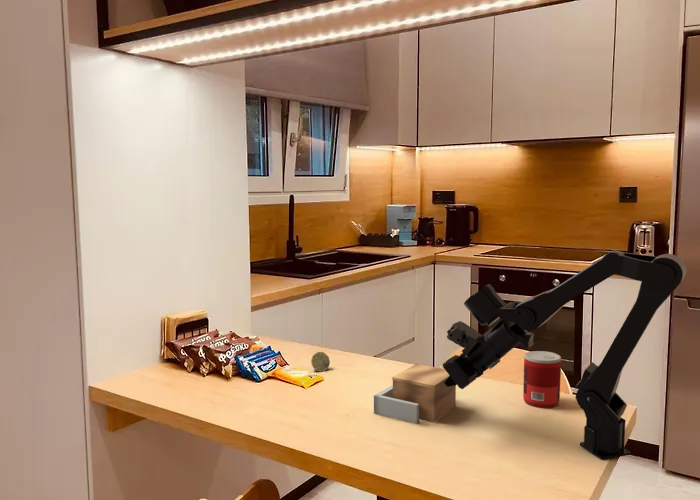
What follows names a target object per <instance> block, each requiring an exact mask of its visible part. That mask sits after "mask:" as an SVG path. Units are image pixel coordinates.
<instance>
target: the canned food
mask: <svg viewBox="0 0 700 500" xmlns="http://www.w3.org/2000/svg"><path fill="white" fill-rule="evenodd" d="M523 360H524V361H523V391H522V392H523V393H522V397H523V401H524V403H525V404H527V405H528V406H532V407H535V408H541V409H550V408H556V407H557V406H558V405H559V403H560V398H561V397H560V396H561V395H560V394H561V393H560V392H561V374H562V357H561V355H559V354H557V353H556V352H552V351H543V350H542V351H541V350H536V351H535V350H534V351H528V352H525V353H524V358H523Z"/></svg>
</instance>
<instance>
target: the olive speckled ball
mask: <svg viewBox="0 0 700 500" xmlns="http://www.w3.org/2000/svg"><path fill="white" fill-rule="evenodd" d="M330 362H331V361H330V357H329V356H328V354H327V353H326V352H323V351H317V352H315V353H314V354H313V355H312V356H311V360H310V363H311V366H312V368H313V369H314V370H315V371H316V372H324V371H326V370H327V369H328V368H329V367H330V364H331V363H330Z"/></svg>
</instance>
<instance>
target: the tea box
mask: <svg viewBox="0 0 700 500" xmlns="http://www.w3.org/2000/svg"><path fill="white" fill-rule="evenodd" d="M449 376H450V375H449V374H448V373H447V372H446V370H445V369H444V368H441V367H435V366H429V365H423V364H419V363H416V364H413V365H411V366H409V367H408V368H406V369H404V370H402V371H401V372H399V373H397V374H395V375H394V376H392V377H391V380H392V385H393V398H395V399H399V400H404V401H408V402H412V403H417V404H419V420H421V421H424V422H428V423H433V424H434V422H435V423H436V422H437V421H439V420H440V419H441V418H443V417H444V416H445V415H447V414H448V413H449V412H450V411H452V410H453V409H455V407H456V405H457V404H456V402H457V400H456V398H457V394H456V393H457V392H456V391H457V385H454V386H450V387H447V386H446V384H445V381H446V380H447V379H448V377H449Z"/></svg>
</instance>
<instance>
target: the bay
mask: <svg viewBox="0 0 700 500" xmlns="http://www.w3.org/2000/svg"><path fill="white" fill-rule="evenodd" d="M373 414H375V415H380V416H383V417H388V418H391V419H396V420H398V421H399V420H400V421H403V422H408V423H412V424H418V423H419V420H420V419H419V404H417V403H412V402H408V401H404V400H399V399H395V398H393V384H391V385H390V386H388V387H386V388H385V389H383V390H381V391H380V392H378V393H376V394H375V395H373Z"/></svg>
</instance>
